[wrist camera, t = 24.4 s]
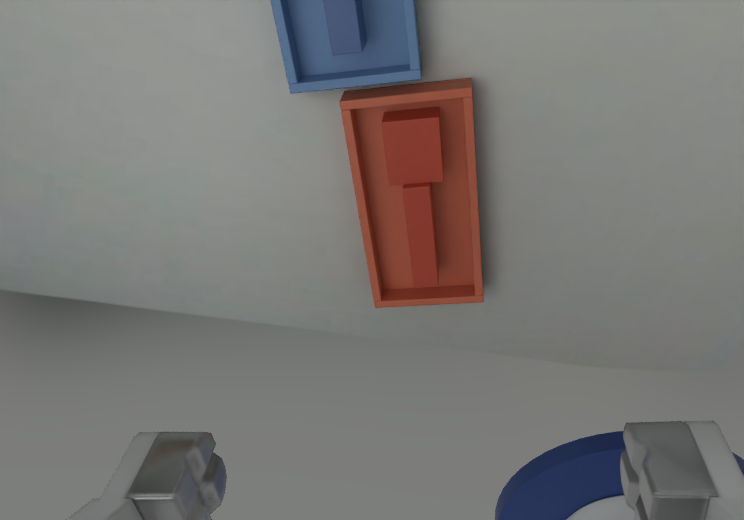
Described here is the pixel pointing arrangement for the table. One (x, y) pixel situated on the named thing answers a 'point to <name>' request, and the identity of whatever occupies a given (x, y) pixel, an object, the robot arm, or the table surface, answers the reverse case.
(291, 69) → the blue tray
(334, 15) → the blue stepped bar
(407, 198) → the red stepped bar
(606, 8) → the table surface
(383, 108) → the red tray
